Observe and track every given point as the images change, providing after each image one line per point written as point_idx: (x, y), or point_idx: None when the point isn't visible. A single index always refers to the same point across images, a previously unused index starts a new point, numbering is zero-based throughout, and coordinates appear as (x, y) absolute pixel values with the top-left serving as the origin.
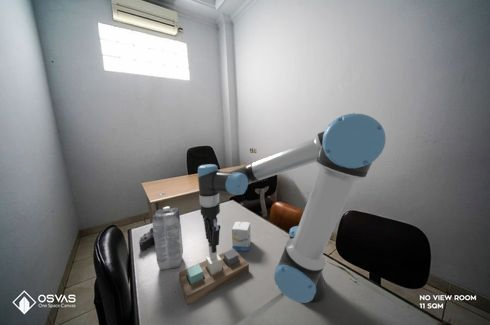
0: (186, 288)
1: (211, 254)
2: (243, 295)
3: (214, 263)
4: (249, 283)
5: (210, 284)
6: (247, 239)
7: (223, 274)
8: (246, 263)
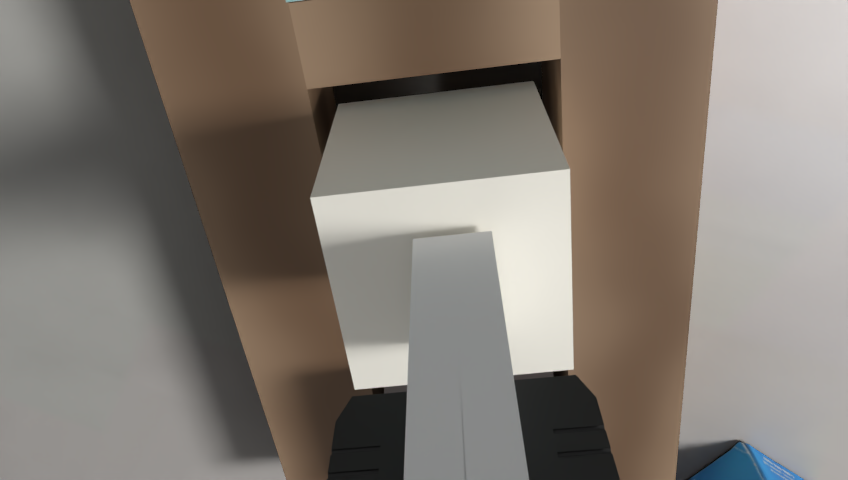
0: None
1: (410, 334)
2: (43, 316)
3: (330, 261)
4: (169, 407)
5: (149, 50)
6: None
7: (261, 264)
8: None
